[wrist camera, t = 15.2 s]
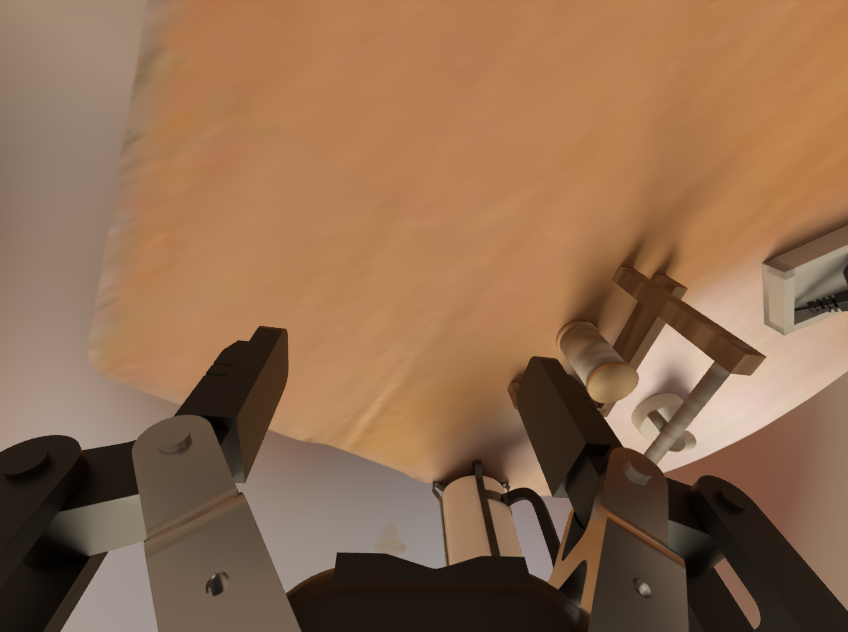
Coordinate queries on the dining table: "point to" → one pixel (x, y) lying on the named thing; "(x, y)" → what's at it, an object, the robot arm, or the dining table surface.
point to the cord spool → (596, 362)
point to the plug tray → (804, 281)
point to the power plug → (829, 301)
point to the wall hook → (667, 408)
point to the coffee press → (486, 518)
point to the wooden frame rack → (667, 307)
